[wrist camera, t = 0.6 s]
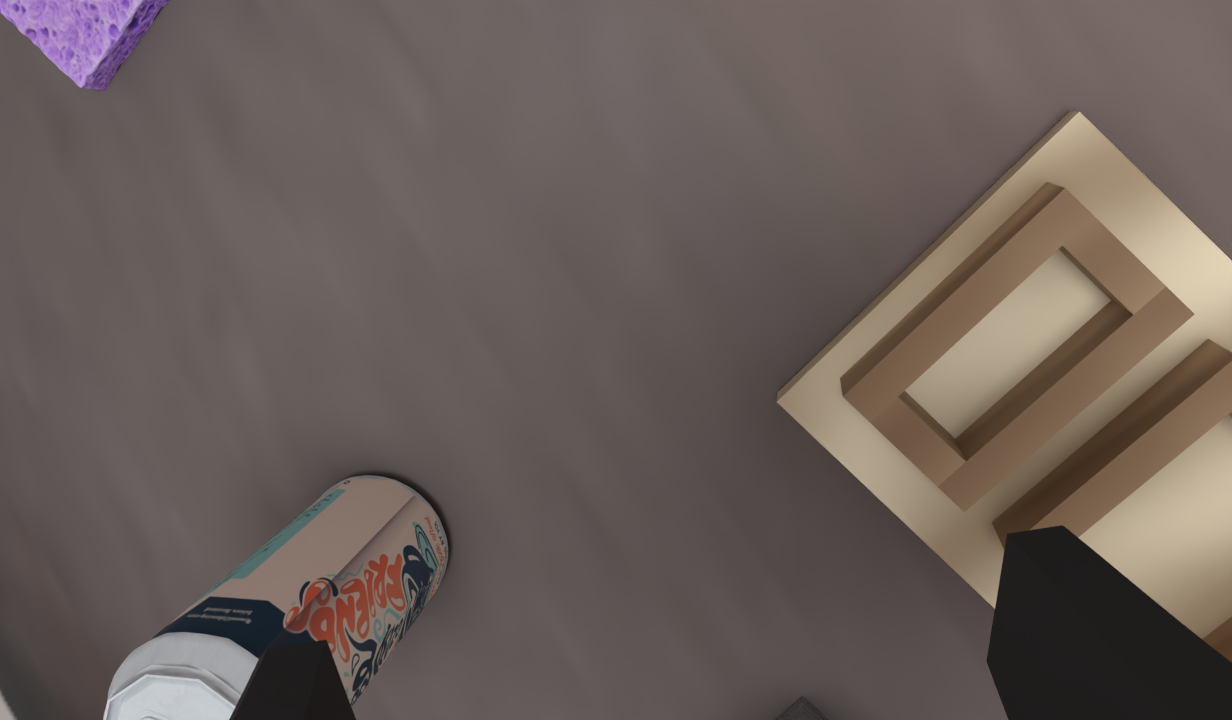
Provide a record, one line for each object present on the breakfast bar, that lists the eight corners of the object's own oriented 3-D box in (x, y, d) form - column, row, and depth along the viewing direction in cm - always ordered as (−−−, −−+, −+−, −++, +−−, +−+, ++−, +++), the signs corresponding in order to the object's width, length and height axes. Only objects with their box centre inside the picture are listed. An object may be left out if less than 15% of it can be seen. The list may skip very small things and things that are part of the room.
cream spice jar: (431, 627, 36) (256, 881, 24) (298, 576, 36) (63, 801, 24) (470, 500, 34) (305, 703, 23) (332, 448, 35) (101, 623, 23)
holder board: (1460, 493, 29) (1532, 536, 27) (1136, 733, 33) (1169, 795, 30) (1069, 111, 29) (1100, 112, 26) (777, 392, 32) (775, 421, 29)
